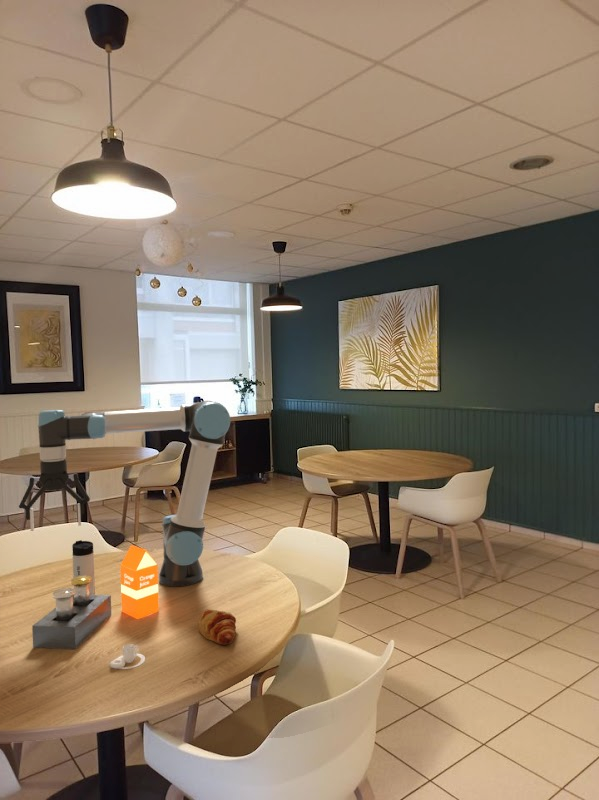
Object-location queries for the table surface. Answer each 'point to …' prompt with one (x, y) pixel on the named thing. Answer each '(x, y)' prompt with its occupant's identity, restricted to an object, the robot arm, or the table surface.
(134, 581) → the orange juice
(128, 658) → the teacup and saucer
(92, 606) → the mount
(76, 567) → the travel mug
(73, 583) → the knob
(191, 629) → the table surface
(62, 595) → the knob
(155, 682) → the table surface
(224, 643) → the croissant
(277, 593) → the table surface
